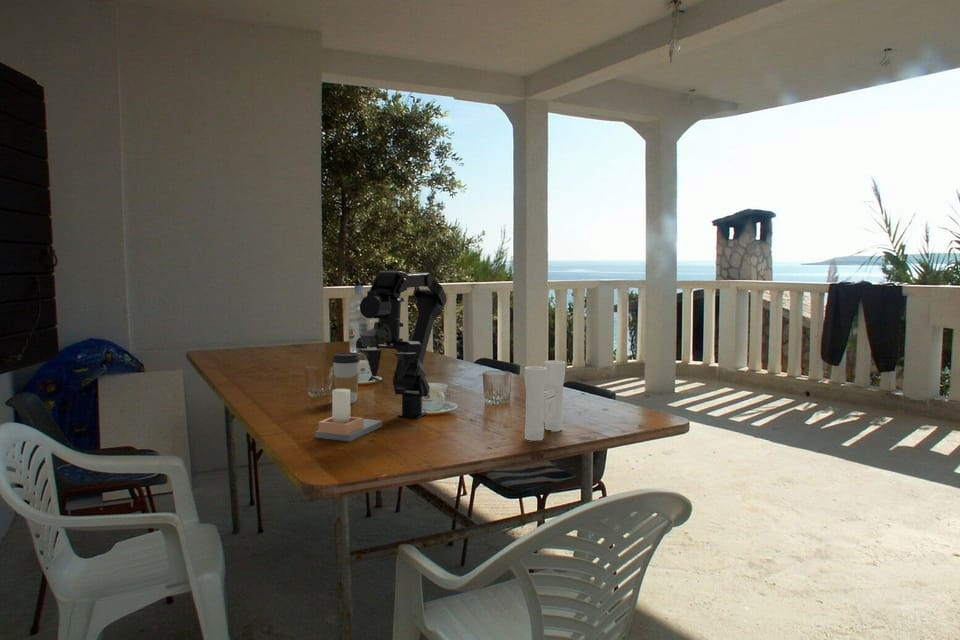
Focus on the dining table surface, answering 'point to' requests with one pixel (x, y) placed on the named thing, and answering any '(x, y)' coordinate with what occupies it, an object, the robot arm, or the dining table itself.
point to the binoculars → (544, 398)
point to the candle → (341, 405)
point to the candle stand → (346, 428)
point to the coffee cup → (346, 373)
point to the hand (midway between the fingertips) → (386, 377)
